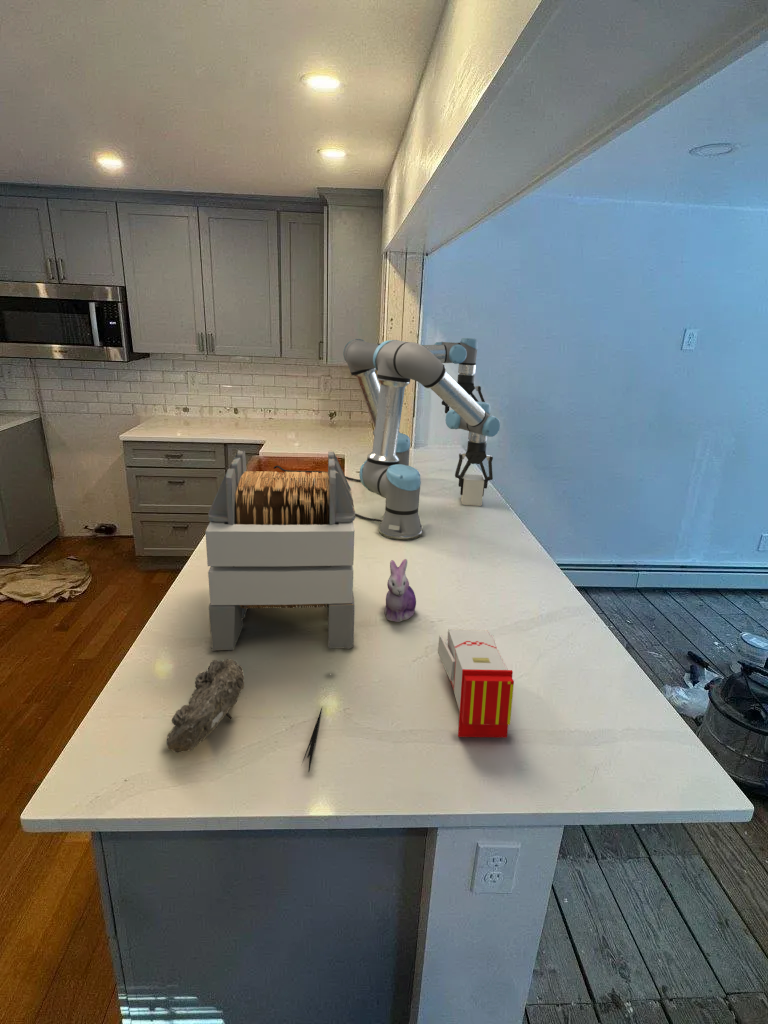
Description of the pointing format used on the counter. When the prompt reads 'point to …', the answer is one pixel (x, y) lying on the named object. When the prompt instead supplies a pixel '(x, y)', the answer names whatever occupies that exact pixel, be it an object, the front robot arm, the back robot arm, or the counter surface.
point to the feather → (313, 740)
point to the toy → (478, 682)
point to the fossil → (206, 705)
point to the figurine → (399, 594)
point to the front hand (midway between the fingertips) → (471, 494)
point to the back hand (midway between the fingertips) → (462, 421)
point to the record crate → (281, 548)
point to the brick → (472, 490)
